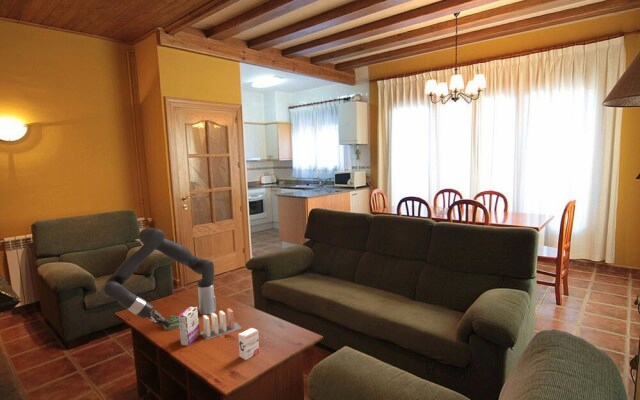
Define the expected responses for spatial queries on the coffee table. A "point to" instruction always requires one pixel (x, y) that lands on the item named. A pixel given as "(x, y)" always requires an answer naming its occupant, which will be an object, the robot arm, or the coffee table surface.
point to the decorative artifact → (172, 323)
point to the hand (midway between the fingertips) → (169, 325)
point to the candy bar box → (189, 326)
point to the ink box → (248, 343)
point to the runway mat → (221, 331)
